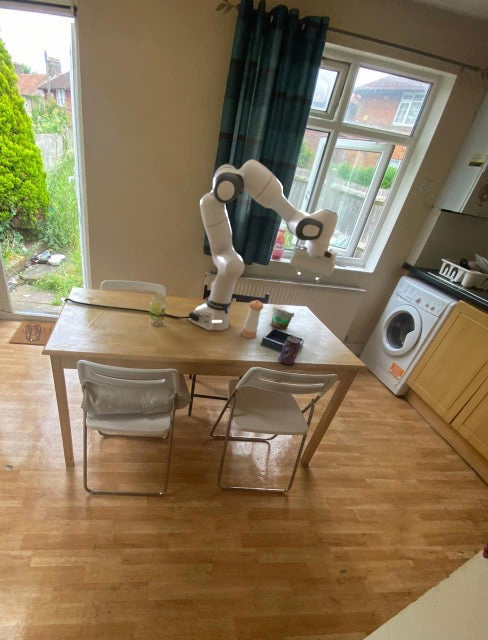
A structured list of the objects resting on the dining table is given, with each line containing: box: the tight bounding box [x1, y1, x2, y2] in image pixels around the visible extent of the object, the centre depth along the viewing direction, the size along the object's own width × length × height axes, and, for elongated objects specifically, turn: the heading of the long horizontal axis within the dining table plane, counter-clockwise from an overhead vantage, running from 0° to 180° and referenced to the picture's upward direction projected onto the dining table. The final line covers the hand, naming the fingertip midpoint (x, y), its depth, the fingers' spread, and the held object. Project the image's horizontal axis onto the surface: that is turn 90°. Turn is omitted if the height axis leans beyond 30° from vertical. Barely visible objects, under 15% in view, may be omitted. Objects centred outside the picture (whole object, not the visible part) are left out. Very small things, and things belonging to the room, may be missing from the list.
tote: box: [260, 327, 306, 353], centre depth 170 cm, size 18×15×4 cm
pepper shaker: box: [241, 299, 264, 339], centre depth 170 cm, size 7×7×19 cm
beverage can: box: [278, 336, 301, 365], centre depth 155 cm, size 7×7×12 cm
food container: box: [270, 306, 295, 331], centre depth 184 cm, size 12×6×10 cm, turn 62°
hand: (306, 279), depth 160 cm, fingers open, 8 cm apart
